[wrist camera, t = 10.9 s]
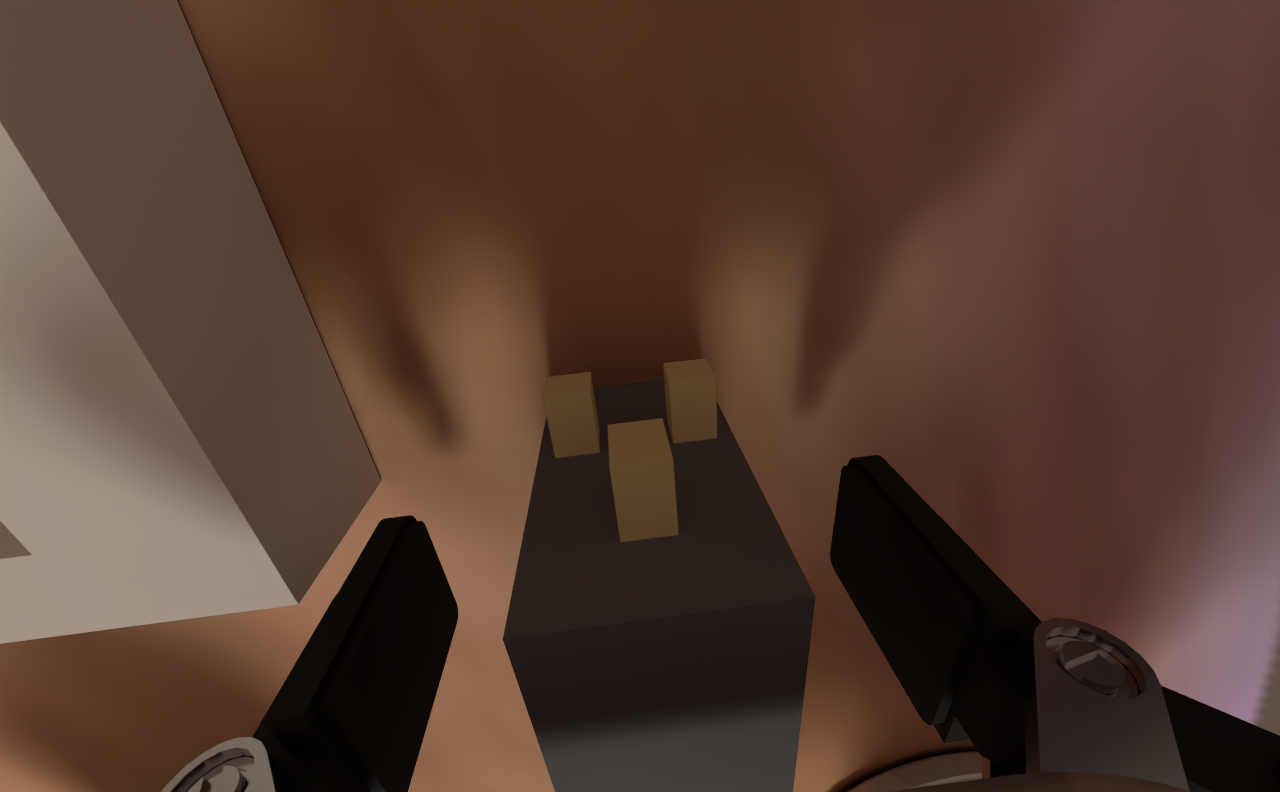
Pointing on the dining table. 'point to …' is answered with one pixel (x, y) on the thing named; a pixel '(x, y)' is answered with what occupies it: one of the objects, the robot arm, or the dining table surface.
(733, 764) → the plug
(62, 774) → the dining table surface
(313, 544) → the socket block
